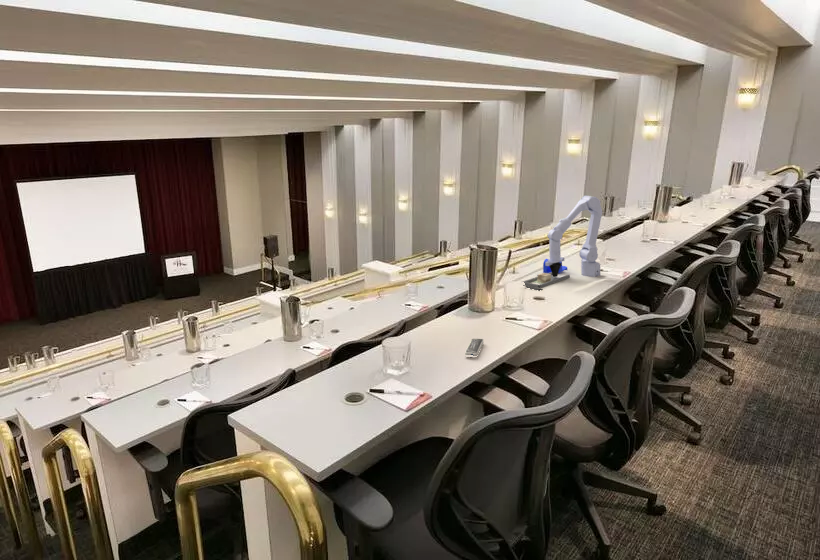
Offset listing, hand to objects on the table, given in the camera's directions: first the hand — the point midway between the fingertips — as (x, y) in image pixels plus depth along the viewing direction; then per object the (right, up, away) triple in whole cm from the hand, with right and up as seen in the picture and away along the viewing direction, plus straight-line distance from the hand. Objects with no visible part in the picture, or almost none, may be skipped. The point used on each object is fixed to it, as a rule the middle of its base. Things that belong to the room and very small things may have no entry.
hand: (555, 276), depth 284 cm
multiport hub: (-55, -29, -88) cm, 107 cm away
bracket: (+6, +2, +18) cm, 19 cm away
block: (-7, -3, -6) cm, 10 cm away
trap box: (-6, -4, -4) cm, 9 cm away
